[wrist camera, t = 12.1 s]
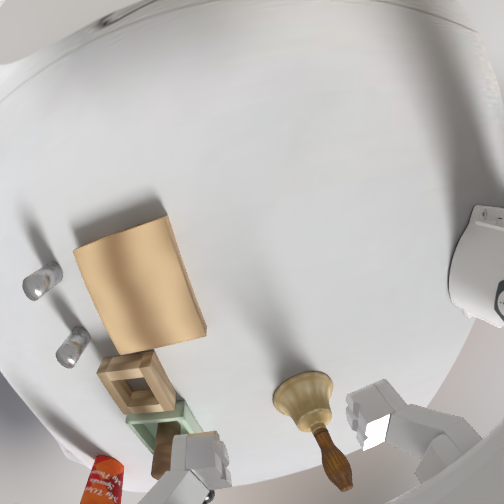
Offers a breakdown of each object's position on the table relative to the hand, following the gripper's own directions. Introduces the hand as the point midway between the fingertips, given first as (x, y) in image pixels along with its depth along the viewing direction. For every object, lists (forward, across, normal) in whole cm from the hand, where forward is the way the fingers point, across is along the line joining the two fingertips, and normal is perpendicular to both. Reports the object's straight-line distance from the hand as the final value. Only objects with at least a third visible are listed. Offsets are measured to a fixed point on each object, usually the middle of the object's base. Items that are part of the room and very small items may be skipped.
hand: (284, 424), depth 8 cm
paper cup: (+19, +33, +32) cm, 50 cm away
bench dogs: (+19, +20, 0) cm, 28 cm away
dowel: (+18, +15, +20) cm, 31 cm away
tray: (+19, +15, +20) cm, 31 cm away
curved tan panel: (+20, +10, 0) cm, 22 cm away
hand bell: (+19, -4, +20) cm, 28 cm away
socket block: (+19, +15, +11) cm, 27 cm away
